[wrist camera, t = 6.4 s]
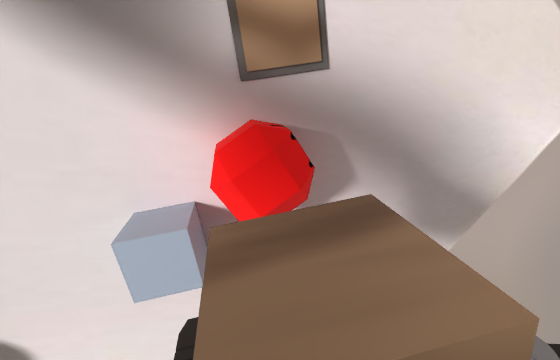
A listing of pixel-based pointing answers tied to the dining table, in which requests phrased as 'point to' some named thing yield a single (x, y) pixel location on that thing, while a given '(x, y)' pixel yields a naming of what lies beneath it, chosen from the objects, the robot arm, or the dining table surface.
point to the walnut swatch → (278, 36)
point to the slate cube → (162, 251)
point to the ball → (261, 171)
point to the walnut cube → (349, 292)
